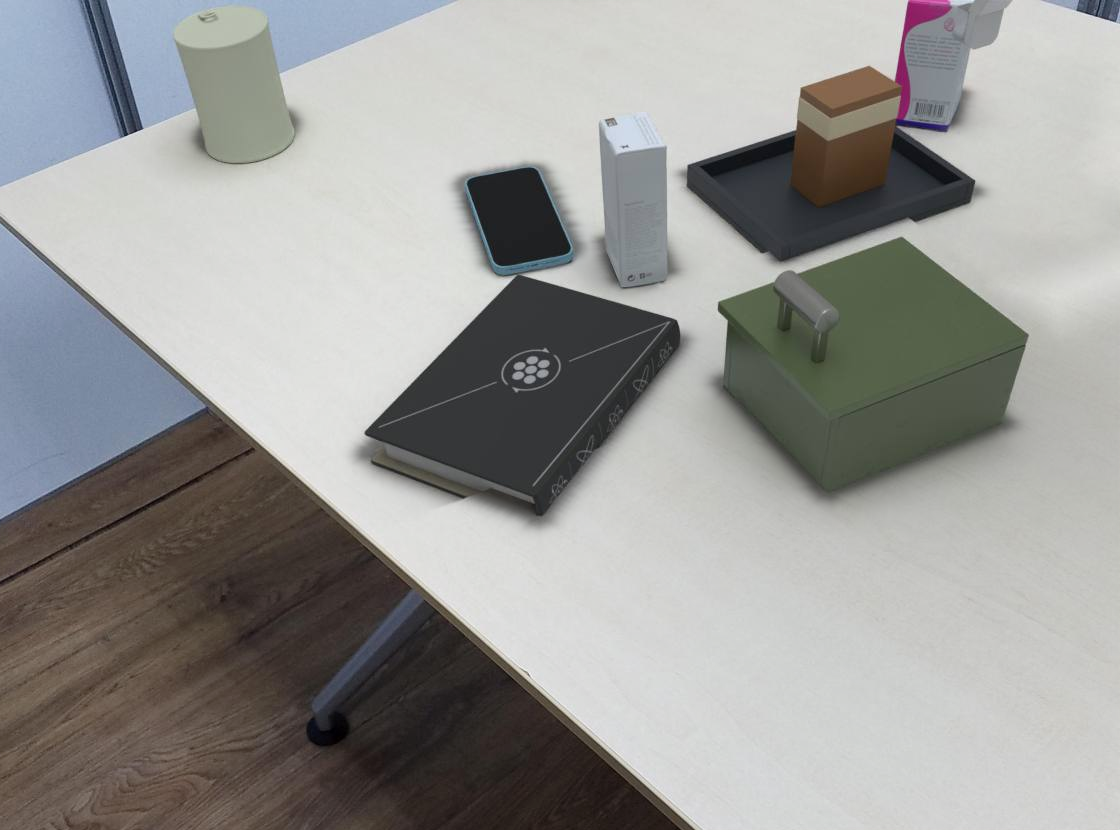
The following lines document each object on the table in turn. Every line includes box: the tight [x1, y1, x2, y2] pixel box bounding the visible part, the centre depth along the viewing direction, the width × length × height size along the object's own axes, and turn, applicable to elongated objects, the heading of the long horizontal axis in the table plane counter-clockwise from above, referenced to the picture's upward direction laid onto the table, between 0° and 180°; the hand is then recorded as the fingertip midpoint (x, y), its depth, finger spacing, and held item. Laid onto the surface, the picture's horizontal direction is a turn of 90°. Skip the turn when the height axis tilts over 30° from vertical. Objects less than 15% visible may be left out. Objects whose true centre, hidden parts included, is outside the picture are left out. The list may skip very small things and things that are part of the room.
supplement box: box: [894, 0, 975, 132], centre depth 108 cm, size 6×6×12 cm
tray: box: [686, 125, 976, 262], centre depth 104 cm, size 20×16×2 cm
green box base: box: [722, 321, 1027, 493], centre depth 83 cm, size 15×14×8 cm
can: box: [172, 5, 296, 164], centre depth 115 cm, size 9×9×12 cm
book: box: [364, 274, 681, 517], centre depth 88 cm, size 22×15×3 cm
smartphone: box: [464, 166, 574, 276], centre depth 105 cm, size 7×1×15 cm
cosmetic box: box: [598, 111, 669, 288], centre depth 95 cm, size 6×4×12 cm
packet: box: [790, 65, 902, 207], centre depth 101 cm, size 7×5×9 cm, turn 115°
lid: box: [717, 236, 1030, 421], centre depth 78 cm, size 16×14×5 cm
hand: (916, 9), depth 63 cm, fingers open, 8 cm apart
